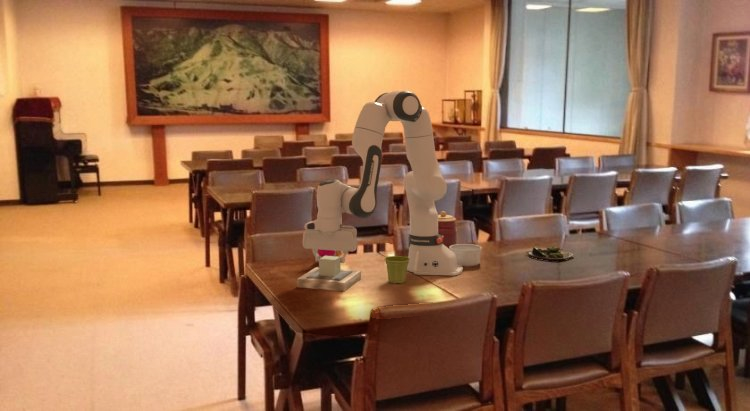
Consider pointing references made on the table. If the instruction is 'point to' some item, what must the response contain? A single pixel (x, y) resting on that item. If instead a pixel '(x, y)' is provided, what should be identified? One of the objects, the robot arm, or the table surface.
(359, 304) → the table surface
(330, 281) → the plinth
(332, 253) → the pepper mill
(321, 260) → the sage cube
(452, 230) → the canister
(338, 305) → the table surface
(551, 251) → the salad plate
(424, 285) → the table surface
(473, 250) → the ramekin
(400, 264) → the plant pot
